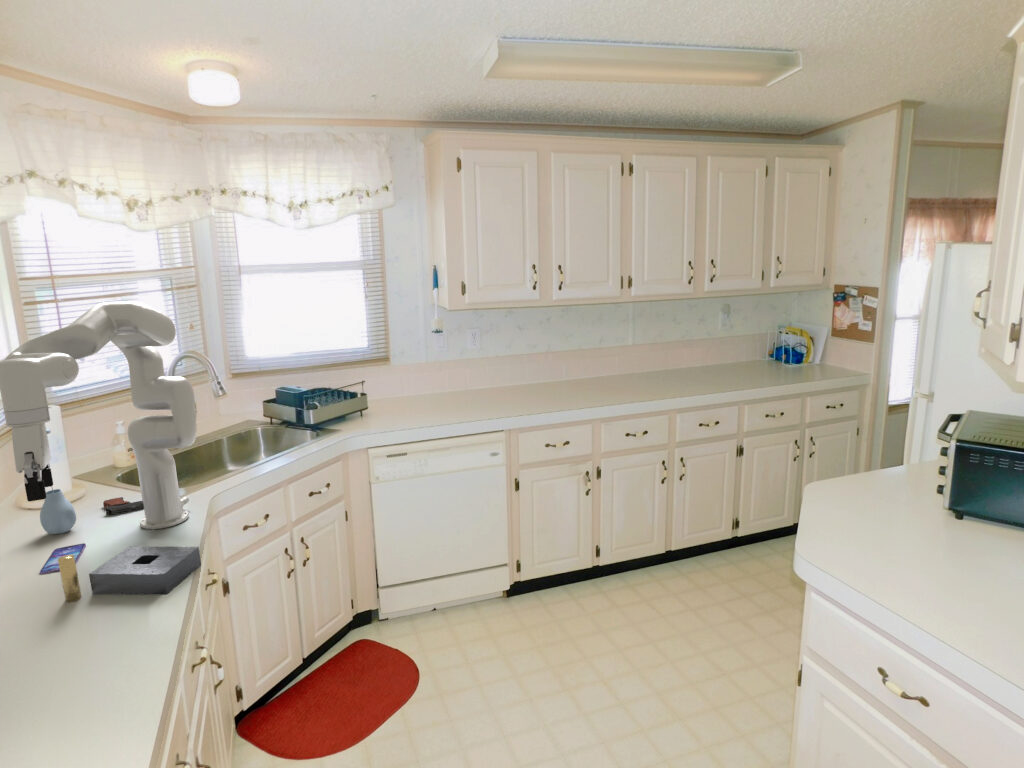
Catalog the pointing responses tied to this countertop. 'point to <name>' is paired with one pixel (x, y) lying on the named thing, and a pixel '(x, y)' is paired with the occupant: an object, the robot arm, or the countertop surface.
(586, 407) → the countertop surface
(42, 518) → the pendant light
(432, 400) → the countertop surface
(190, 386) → the robot arm
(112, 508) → the handgun
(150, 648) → the countertop surface
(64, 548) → the smartphone
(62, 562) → the brass pin
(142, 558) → the block
